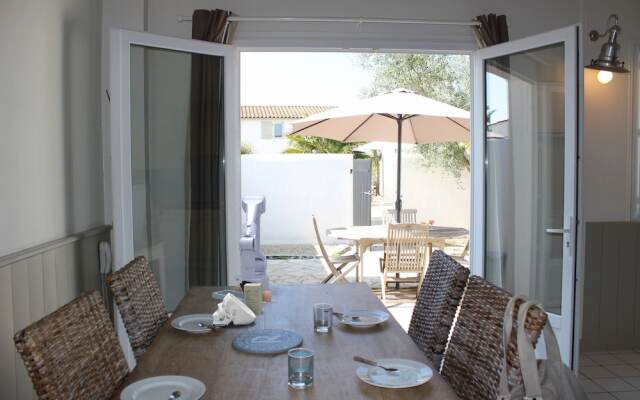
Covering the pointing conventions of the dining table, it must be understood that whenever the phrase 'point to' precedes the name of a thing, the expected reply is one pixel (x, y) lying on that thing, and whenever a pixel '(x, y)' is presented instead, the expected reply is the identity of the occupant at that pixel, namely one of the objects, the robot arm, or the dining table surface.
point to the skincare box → (253, 297)
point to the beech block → (238, 289)
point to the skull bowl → (233, 312)
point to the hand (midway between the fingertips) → (248, 300)
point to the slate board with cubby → (238, 295)
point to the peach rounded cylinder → (266, 296)
